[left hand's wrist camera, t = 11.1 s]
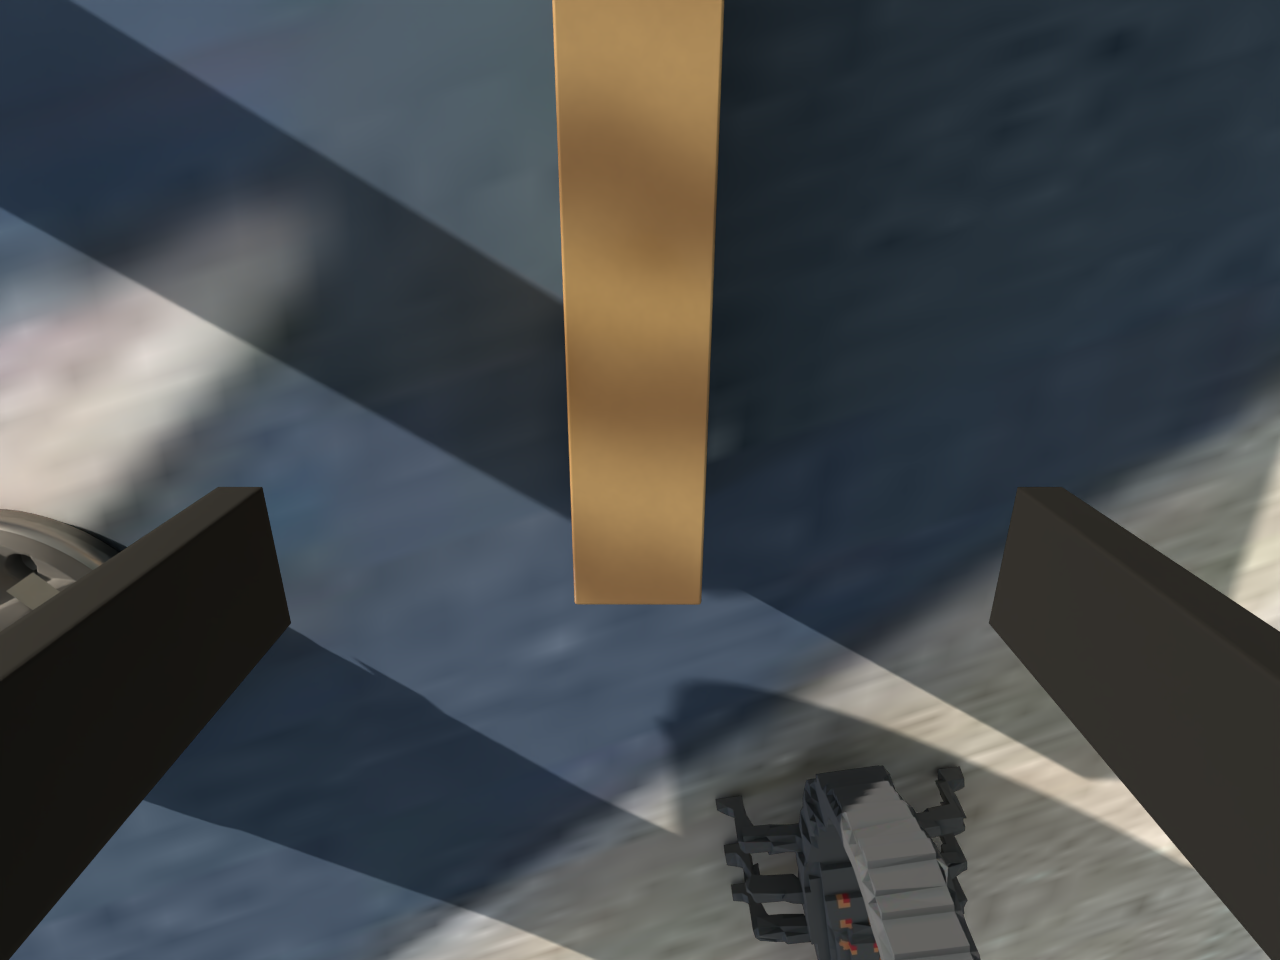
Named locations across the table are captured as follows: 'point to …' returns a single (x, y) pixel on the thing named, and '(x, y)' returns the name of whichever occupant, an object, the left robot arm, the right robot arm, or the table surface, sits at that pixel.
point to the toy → (861, 870)
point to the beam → (638, 286)
